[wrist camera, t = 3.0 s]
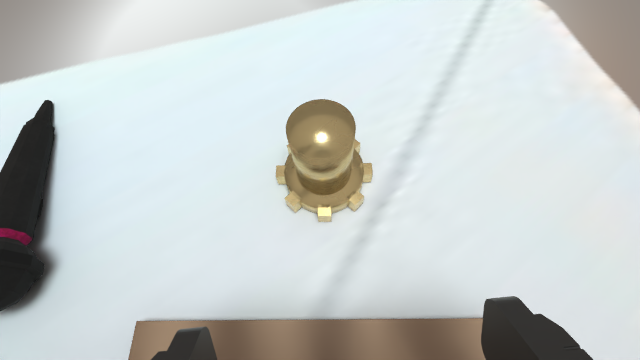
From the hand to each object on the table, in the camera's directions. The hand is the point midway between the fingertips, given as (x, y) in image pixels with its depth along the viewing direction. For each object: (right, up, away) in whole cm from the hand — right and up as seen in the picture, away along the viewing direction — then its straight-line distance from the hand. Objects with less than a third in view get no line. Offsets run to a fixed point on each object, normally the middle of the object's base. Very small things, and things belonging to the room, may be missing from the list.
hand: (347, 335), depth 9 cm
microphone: (-25, +3, +19) cm, 31 cm away
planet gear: (0, +5, +18) cm, 18 cm away
